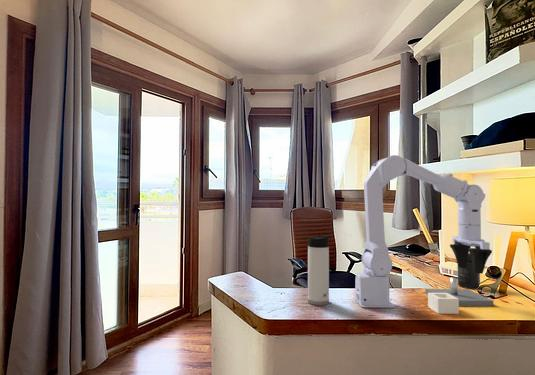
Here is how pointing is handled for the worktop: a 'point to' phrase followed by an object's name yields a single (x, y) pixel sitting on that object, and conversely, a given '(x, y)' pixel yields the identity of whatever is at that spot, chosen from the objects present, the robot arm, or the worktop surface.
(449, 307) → the collar
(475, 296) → the shaft board
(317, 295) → the travel mug
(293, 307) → the worktop surface
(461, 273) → the supplement bottle
